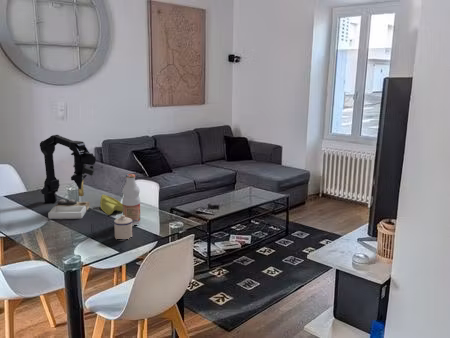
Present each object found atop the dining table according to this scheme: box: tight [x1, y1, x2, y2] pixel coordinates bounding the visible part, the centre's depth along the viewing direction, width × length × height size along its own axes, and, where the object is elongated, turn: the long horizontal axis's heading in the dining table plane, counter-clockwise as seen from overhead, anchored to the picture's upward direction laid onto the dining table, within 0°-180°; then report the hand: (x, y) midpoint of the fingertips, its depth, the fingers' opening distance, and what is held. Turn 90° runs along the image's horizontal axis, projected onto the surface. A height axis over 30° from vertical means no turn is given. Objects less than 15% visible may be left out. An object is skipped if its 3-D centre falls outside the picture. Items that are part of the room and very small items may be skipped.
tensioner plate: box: [55, 198, 91, 212], centre depth 246 cm, size 18×8×5 cm, turn 97°
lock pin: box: [77, 178, 85, 197], centre depth 244 cm, size 4×4×10 cm
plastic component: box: [99, 194, 123, 216], centre depth 247 cm, size 20×7×10 cm
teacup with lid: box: [113, 214, 133, 240], centre depth 206 cm, size 12×9×12 cm
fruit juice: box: [121, 173, 141, 227], centre depth 222 cm, size 9×9×28 cm
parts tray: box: [47, 205, 87, 220], centre depth 235 cm, size 18×12×4 cm, turn 97°
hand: (80, 188), depth 244 cm, fingers closed on lock pin, 3 cm apart
